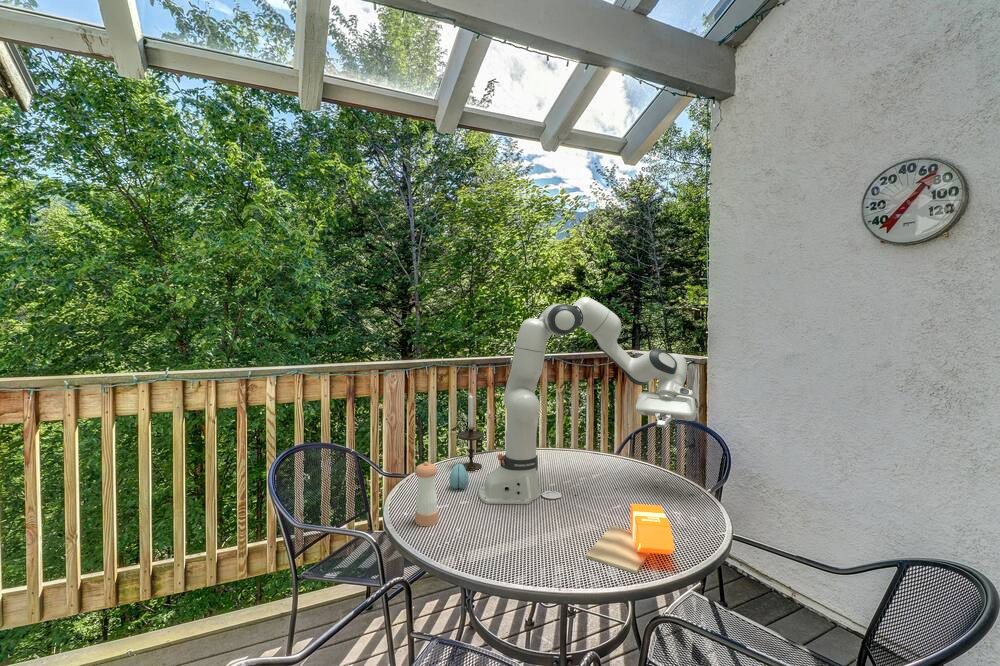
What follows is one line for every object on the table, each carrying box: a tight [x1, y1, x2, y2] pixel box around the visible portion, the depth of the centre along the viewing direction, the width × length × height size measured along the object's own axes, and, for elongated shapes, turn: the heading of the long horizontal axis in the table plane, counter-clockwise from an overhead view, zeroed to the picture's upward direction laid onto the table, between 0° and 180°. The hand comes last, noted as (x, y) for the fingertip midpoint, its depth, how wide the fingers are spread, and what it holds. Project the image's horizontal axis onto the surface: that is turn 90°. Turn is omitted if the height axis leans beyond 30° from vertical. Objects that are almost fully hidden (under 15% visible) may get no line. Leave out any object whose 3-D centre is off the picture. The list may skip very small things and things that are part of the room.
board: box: [585, 525, 651, 575], centre depth 132 cm, size 20×14×1 cm
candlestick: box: [457, 386, 485, 471], centre depth 197 cm, size 11×11×35 cm
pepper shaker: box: [414, 461, 439, 527], centre depth 149 cm, size 7×7×19 cm
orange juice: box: [629, 503, 676, 555], centre depth 132 cm, size 8×9×20 cm
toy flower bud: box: [448, 463, 469, 490], centre depth 178 cm, size 7×9×12 cm
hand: (661, 426), depth 161 cm, fingers closed
